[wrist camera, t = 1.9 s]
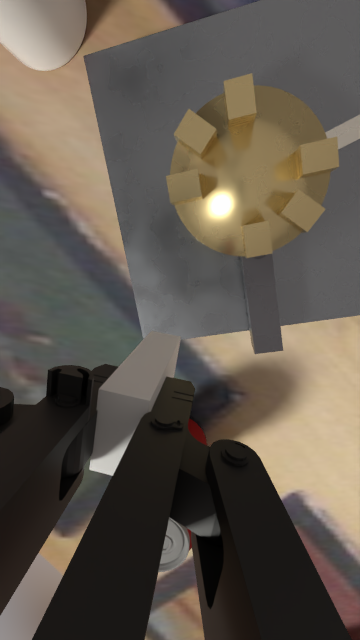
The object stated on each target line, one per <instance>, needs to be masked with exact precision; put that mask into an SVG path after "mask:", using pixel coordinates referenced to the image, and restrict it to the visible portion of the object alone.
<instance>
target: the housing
mask: <svg viewBox="0 0 360 640" xmlns="http://www.w3.org/2000/svg"><path fill="white" fill-rule="evenodd" d="M84 61H85V65H86V70H87V75H88V80H89V84H90V89H91V94H92V98H93V103H94V108H95V113H96V117H97V122H98V127H99V131H100V136H101V141H102V146H103V150H104V155H105V160H106V164H107V169H108V174H109V179H110V183H111V188H112V193H113V197H114V202H115V207H116V212H117V216H118V221H119V226H120V230H121V235H122V240H123V245H124V249H125V254H126V259H127V263H128V268H129V273H130V278H131V282H132V287H133V292H134V296H135V301H136V306H137V311H138V315H139V320H140V325H141V329H142V334H143V339H144V338H145V337H146V336H147V335H148V334H149V333H150V332H151V331H155V332H160V333H165V334H170V335H175V336H180V337H181V339H188V338H195V337H203V336H210V335H217V334H225V333H232V332H239V331H247V330H250V328H249V320H248V313H247V306H246V298H245V291H244V284H243V276H242V269H241V261H240V256H233V255H227V254H224V253H220V252H217V251H215V250H213V249H211V248H209V247H207V246H206V245H204V244H203V243H201V242H200V241H199V240H197V239H196V238H195V237H194V236H193V235H192V234H191V233H190V232H189V231H188V229H187V228H186V227H185V225H184V224H183V222H182V221H181V219H180V217H179V215H178V213H177V211H176V208H175V205H174V206H173V205H172V204H171V203H170V197H169V191H168V186H167V180H166V176H168V175H170V169H171V161H172V157H173V153H174V149H175V147H176V144H177V141H176V139H175V137H174V133H175V131H176V129H177V128H178V126H179V124H180V123H181V121H182V119H183V117H184V116H185V114H186V112H187V111H188V109H190V110H191V111H193V112H194V113H196V112H197V111H198V110H199V109H201V108H202V107H203V106H204V105H205V104H206V103H208V102H209V101H211V100H212V99H213V98H215V97H217V96H219V95H221V94H223V93H224V92H223V86H224V81H226V80H229V79H233V78H236V77H240V76H244V75H247V74H251V73H252V76H253V85H254V86H256V85H261V86H270V87H274V88H278V89H281V90H284V91H286V92H288V93H291V94H292V95H294V96H295V97H297V98H299V99H300V100H301V101H303V102H304V103H305V104H306V105H307V106H308V107H309V108H310V109H311V110H312V111H313V113H314V114H315V115H316V116H317V118H318V120H319V121H320V123H321V124H322V127H323V129H324V131H325V133H326V136H327V139H328V138H333V137H337V140H338V155H339V167H338V168H337V169H335V170H334V171H332V172H331V173H330V181H329V185H328V189H327V193H326V195H325V198H324V201H323V203H322V205H321V206H322V207H324V208H325V211H324V212H323V213H322V214H321V216H320V217H319V218H318V220H317V221H316V222H315V223H314V225H313V226H312V227H311V228H310V230H309V231H308V232H306V233H302V232H301V233H300V234H299V235H298V236H297V237H296V238H295V239H293V240H292V241H290V242H289V243H287V244H286V245H284V246H282V247H280V248H278V249H276V250H274V251H272V253H273V254H272V257H273V266H274V275H275V284H276V293H277V301H278V310H279V319H280V326H284V325H291V324H298V323H306V322H313V321H320V320H328V319H335V318H343V317H350V316H357V315H360V0H260V1H257V2H254V3H251V4H247V5H244V6H241V7H238V8H235V9H231V10H228V11H225V12H222V13H219V14H216V15H212V16H209V17H206V18H203V19H200V20H197V21H193V22H190V23H187V24H184V25H181V26H177V27H174V28H171V29H168V30H165V31H162V32H158V33H155V34H152V35H149V36H146V37H143V38H139V39H136V40H133V41H130V42H127V43H123V44H120V45H117V46H114V47H111V48H108V49H104V50H101V51H98V52H95V53H92V54H88V55H85V56H84ZM181 339H180V340H181Z"/></svg>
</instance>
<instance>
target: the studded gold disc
mask: <svg viewBox="0 0 360 640" xmlns="http://www.w3.org/2000/svg"><path fill="white" fill-rule="evenodd" d="M223 92H224V93H223V94H221V95H219V96H217V97H215V98H213V99H212V100H211V101H209V102H208V103H206V104H205V105H204V106H203V107H202V108H201V109H199V110H198V111H197V112H196V113H194V112H193V111H191V110H190V109H188V111H187V112H186V114H185V116H184V117H183V119H182V121H181V123H180V124H179V126H178V128H177V129H176V131H175V133H174V137H175V139H176V141H177V144H176V147H175V149H174V153H173V157H172V161H171V169H170V175H168V176H166V180H167V186H168V191H169V197H170V203H171V204H172V205H173V206H174V205H175V208H176V211H177V213H178V215H179V217H180V219H181V221H182V222H183V224H184V225H185V227H186V228H187V229H188V231H189V232H190V233H191V234H192V235H193V236H194V237H195V238H196V239H197V240H199V241H200V242H201V243H203V244H204V245H206V246H207V247H209V248H211V249H213V250H215V251H217V252H220V253H224V254H227V255H233V256H240V261H241V269H242V276H243V284H244V291H245V298H246V306H247V313H248V320H249V328H250V335H251V343H252V347H253V350H254V353H255V354H258V353H267V352H275V351H283V346H282V337H281V328H280V319H279V310H278V301H277V293H276V284H275V275H274V266H273V257H272V254H273V253H272V251H274V250H276V249H278V248H280V247H282V246H284V245H286V244H287V243H289V242H290V241H292V240H293V239H295V238H296V237H297V236H298V235H299V234H300V233H301V232H302V233H306V232H308V231H309V230H310V228H311V227H312V226H313V225H314V223H315V222H316V221H317V220H318V218H319V217H320V216H321V214H322V213H323V212H324V211H325V208H324V207H322V206H321V205H322V203H323V201H324V198H325V195H326V193H327V189H328V185H329V181H330V173H331V172H332V171H334V170H335V169H337V168H338V167H339V155H338V140H337V137H333V138H328V139H327V136H326V133H325V131H324V129H323V127H322V124H321V123H320V121H319V120H318V118H317V116H316V115H315V114H314V113H313V111H312V110H311V109H310V108H309V107H308V106H307V105H306V104H305V103H304V102H303V101H301V100H300V99H299V98H297V97H295V96H294V95H292V94H291V93H288V92H286V91H284V90H281V89H278V88H274V87H270V86H261V85H256V86H254V85H253V76H252V73H251V74H247V75H244V76H240V77H236V78H233V79H229V80H226V81H224V86H223Z"/></svg>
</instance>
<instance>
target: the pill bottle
mask: <svg viewBox="0 0 360 640" xmlns="http://www.w3.org/2000/svg"><path fill="white" fill-rule="evenodd" d="M86 24H87V9H86V2H85V0H0V43H1V44H2V45H3V46H4V47H5V48H6V49H7V50H8V51H9V52H10V53H11V54H13V55H14V56H15V57H16V58H17V59H18V60H19V61H20V62H21V63H23V64H24V65H26V66H27V67H29V68H32V69H35V70H39V71H50V70H55V69H57V68H60V67H62V66H63V65H65V64H66V63H68V62H69V61H70V60H71V59H72V58H73V57H74V55H75V54H76V52H77V51H78V49H79V48H80V46H81V43H82V41H83V38H84V35H85V30H86Z"/></svg>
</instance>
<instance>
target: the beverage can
mask: <svg viewBox="0 0 360 640" xmlns="http://www.w3.org/2000/svg"><path fill="white" fill-rule="evenodd" d="M188 429H189V432H190V433H191V435H192V436H193V437H194V438H195V439H197V440H198V441H199V442H201V443H203V444H204V445H207V443H206V438H205V435H204V433H203V431H202V429H201V428H200V427H199V425H198V424H197V423H195V422H194V421H193V420H191V419H190V418H189V422H188ZM191 548H192V543H191V531H190V530H189V529H187V528H186V527H184V526H182V525H181V524H179V523H178V522H176V521H174V520H173V519H171V518H170V517H169V522H168V526H167V531H166V536H165V541H164V546H163V551H162V556H161V561H160V566H159V571H158V572H165V571H169V570H172V569H175V568H176V567H178V566H179V565H181V564H182V563H183V562H184V560H185V559H186V557H187V555H188V552H189V550H190V549H191Z"/></svg>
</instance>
